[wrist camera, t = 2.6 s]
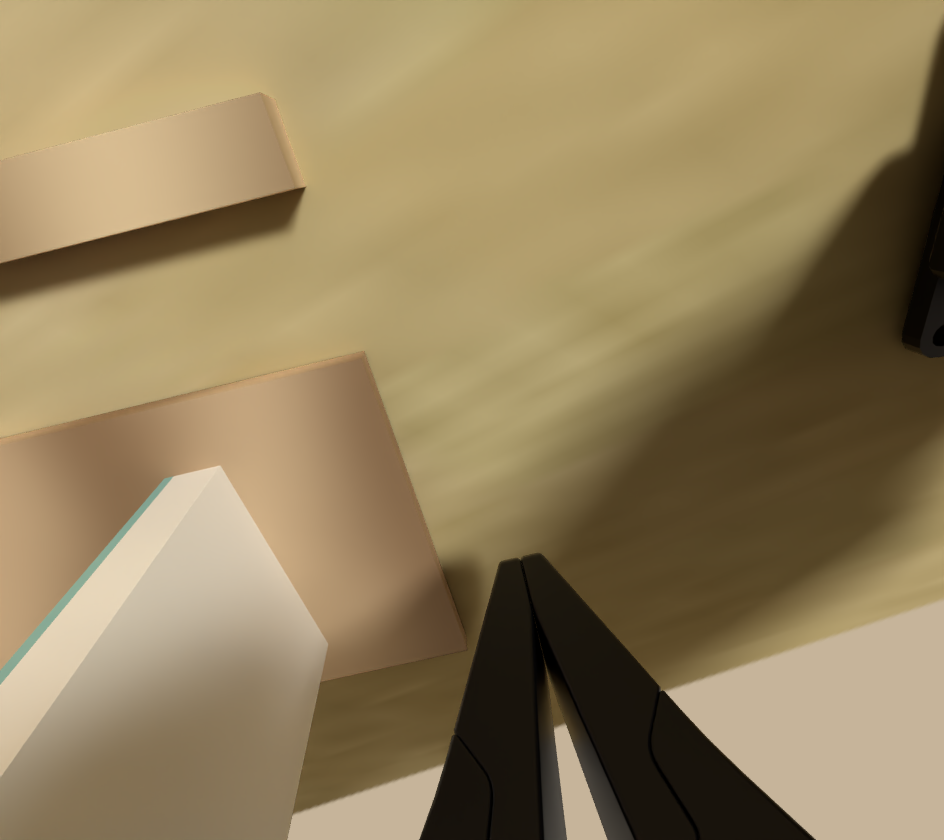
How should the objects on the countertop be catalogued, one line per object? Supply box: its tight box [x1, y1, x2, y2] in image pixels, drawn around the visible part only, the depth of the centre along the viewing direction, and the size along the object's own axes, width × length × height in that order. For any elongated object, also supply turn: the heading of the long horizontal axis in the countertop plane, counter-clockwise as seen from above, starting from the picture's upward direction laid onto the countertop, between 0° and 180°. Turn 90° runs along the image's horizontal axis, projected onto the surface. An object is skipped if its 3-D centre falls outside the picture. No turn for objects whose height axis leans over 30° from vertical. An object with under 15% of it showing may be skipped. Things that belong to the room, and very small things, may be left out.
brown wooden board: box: [0, 351, 467, 682], centre depth 11 cm, size 13×9×1 cm
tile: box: [0, 466, 328, 840], centre depth 8 cm, size 1×6×7 cm, turn 12°
